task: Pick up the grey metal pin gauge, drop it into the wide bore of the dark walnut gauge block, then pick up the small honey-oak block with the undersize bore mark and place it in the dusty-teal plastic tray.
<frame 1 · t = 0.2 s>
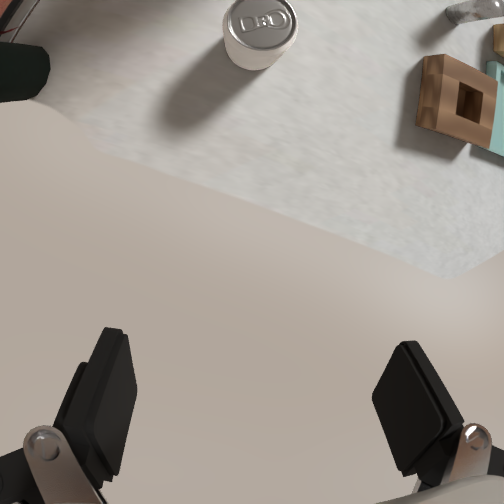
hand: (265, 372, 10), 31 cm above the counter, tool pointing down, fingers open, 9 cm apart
oak block: (503, 44, 29), on the counter
pin gauge: (454, 15, 28), on the counter
can: (253, 45, 31), on the counter
bore block: (448, 100, 34), on the counter
wine bottle: (29, 64, 29), on the counter
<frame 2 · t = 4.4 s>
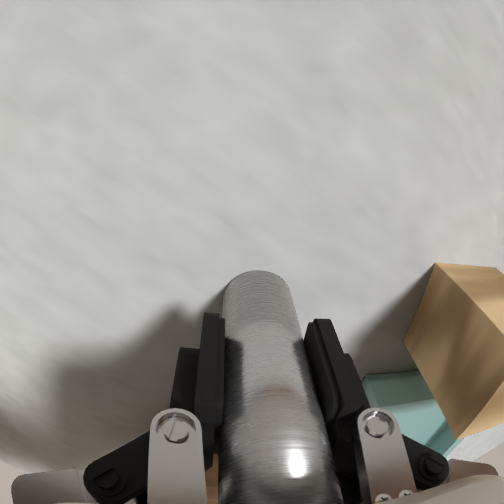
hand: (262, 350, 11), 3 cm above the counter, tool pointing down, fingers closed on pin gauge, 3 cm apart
tray: (401, 427, 21), on the counter
oak block: (452, 304, 15), on the counter
pin gauge: (257, 300, 14), on the counter, touching gripper
bore block: (233, 452, 20), on the counter
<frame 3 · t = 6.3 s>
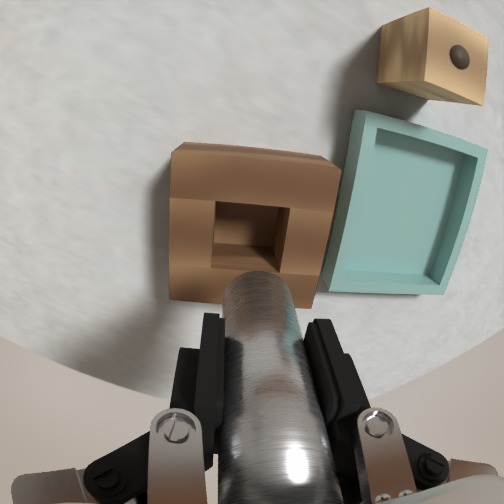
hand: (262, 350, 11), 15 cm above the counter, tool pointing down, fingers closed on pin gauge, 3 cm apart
tray: (402, 206, 25), on the counter
oak block: (406, 62, 20), on the counter
pin gauge: (257, 300, 14), point 12 cm above the counter, touching gripper
bore block: (246, 212, 25), on the counter
when the fingers open (5 cm above the counter, at t = 8.2 s): pin gauge stays where it is, resting on bore block.
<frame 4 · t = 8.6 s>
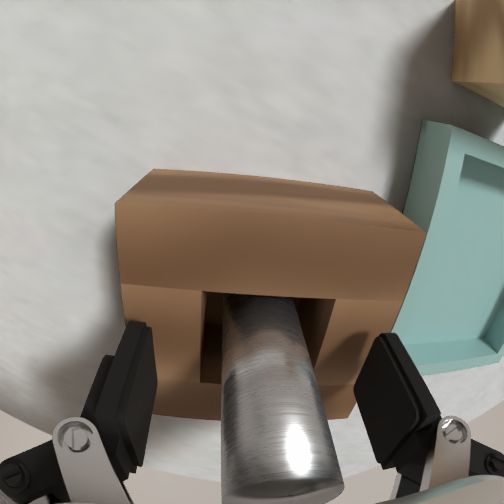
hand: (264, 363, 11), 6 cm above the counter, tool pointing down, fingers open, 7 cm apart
tray: (469, 259, 16), on the counter
oak block: (487, 56, 11), on the counter
pin gauge: (255, 287, 15), point 1 cm above the counter, touching bore block
bore block: (254, 277, 16), on the counter
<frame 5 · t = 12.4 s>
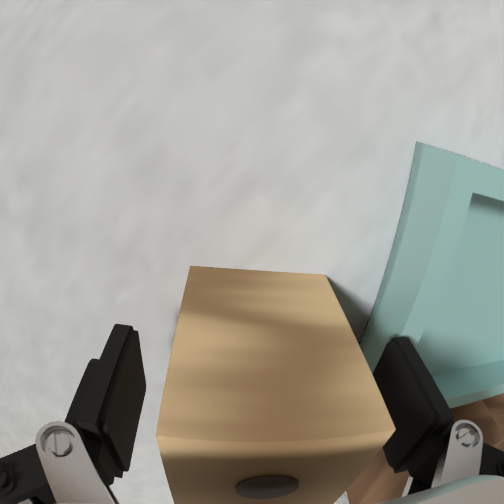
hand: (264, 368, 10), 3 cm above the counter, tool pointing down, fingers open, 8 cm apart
tray: (489, 291, 13), on the counter
oak block: (252, 324, 13), on the counter
bore block: (421, 435, 19), on the counter
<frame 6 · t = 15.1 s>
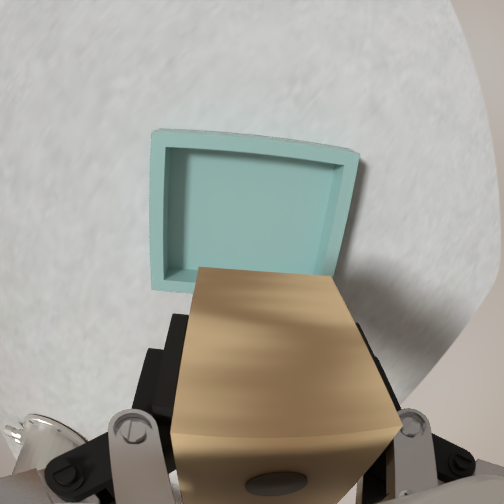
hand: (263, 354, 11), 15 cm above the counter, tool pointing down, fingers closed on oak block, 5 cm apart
tray: (247, 213, 25), on the counter
oak block: (258, 325, 13), point 13 cm above the counter, touching gripper
when the fingers open (4 cm above the counter, at t = 17.5 s): oak block drops 1 cm, resting on tray.
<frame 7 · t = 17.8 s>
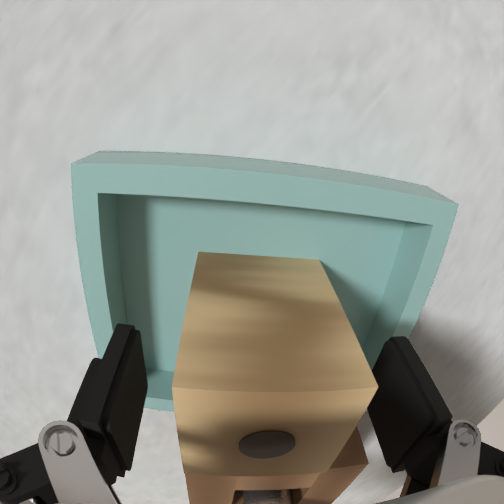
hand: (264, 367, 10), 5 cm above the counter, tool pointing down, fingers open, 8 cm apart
tray: (256, 294, 15), on the counter
oak block: (253, 305, 14), resting on tray
pin gauge: (262, 453, 19), point 1 cm above the counter, touching bore block
bore block: (262, 441, 20), on the counter
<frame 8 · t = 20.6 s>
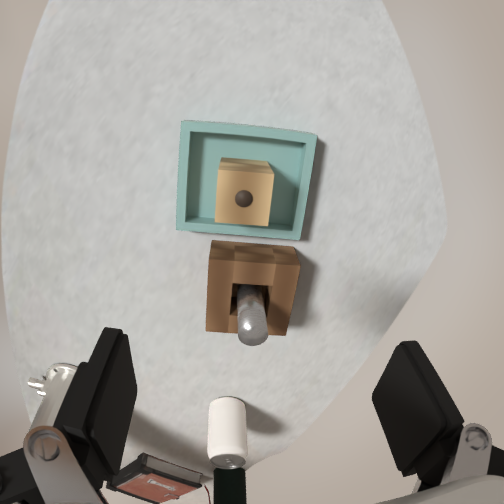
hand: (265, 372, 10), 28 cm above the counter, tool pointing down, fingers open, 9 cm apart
tray: (243, 177, 36), on the counter
oak block: (242, 180, 35), resting on tray
pin gauge: (248, 282, 41), point 1 cm above the counter, touching bore block
book: (152, 474, 69), on the counter
can: (227, 405, 53), on the counter
bore block: (248, 278, 41), on the counter
wine bottle: (224, 470, 66), on the counter
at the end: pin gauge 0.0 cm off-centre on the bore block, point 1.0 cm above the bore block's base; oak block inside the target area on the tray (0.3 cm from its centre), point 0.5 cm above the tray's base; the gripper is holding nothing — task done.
